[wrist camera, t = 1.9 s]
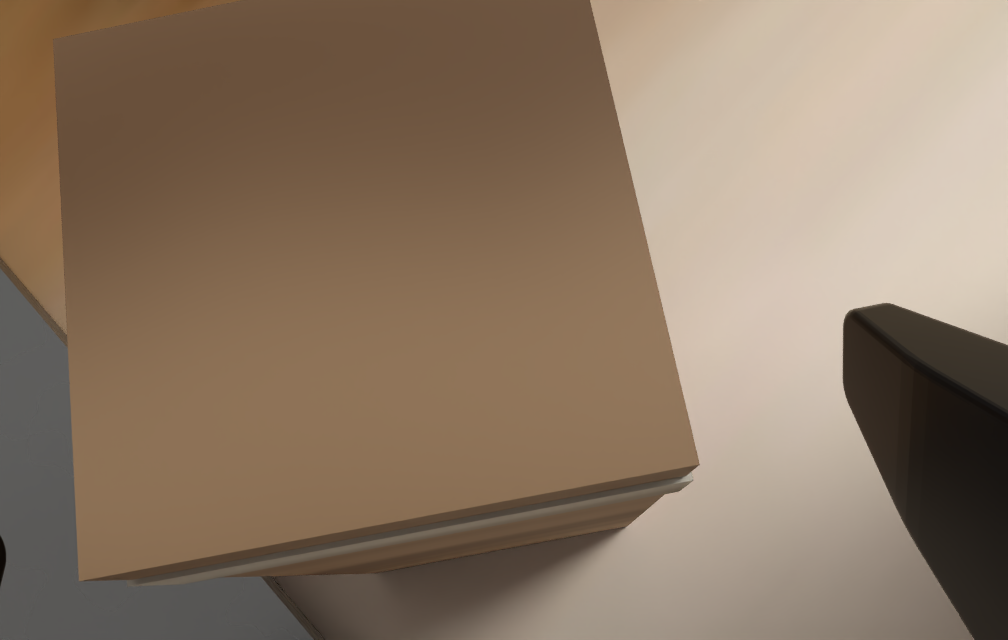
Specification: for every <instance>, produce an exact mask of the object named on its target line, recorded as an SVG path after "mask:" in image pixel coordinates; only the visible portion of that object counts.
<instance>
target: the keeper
mask: <svg viewBox="0 0 1008 640" xmlns="http://www.w3.org/2000/svg"><path fill="white" fill-rule="evenodd" d="M0 535H1V537H2V539H3V542H4V545H5V548H6V566H5V570H4V574H3V578H2V582H1V587H0V640H324V638H323V637H322V636H321V635H320V634H319V633H318V631H317V630H316V629H315V628H314V627H313V626H312V624H311V623H310V622H309V621H308V620H307V618H306V617H305V616H304V615H303V614H302V613H301V611H300V610H299V609H298V608H297V607H296V605H295V604H294V603H293V602H292V601H291V600H290V598H289V597H288V596H287V595H286V594H285V592H284V591H283V590H282V589H281V588H280V587H279V585H278V584H277V583H276V582H275V581H274V580H273V578H272V577H271V576H257V577H220V578H214V579H209V580H204V581H198V582H193V583H188V584H178V585H154V586H130V587H127V580H108V581H79V571H78V550H77V529H76V508H75V487H74V466H73V445H72V424H71V403H70V382H69V361H68V340H67V335H66V334H65V333H64V332H63V331H62V330H61V328H60V327H59V326H58V325H57V324H56V323H55V321H54V320H53V319H52V318H51V317H50V315H49V314H48V313H47V312H46V311H45V310H44V308H43V307H42V306H41V305H40V304H39V302H38V301H37V300H36V299H35V298H34V297H33V295H32V294H31V293H30V292H29V291H28V290H27V288H26V287H25V286H24V285H23V284H22V282H21V281H20V280H19V279H18V278H17V277H16V275H15V274H14V273H13V272H12V271H11V269H10V268H9V267H8V266H7V265H6V264H5V262H4V261H3V260H2V259H1V258H0Z"/></svg>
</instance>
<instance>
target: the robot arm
mask: <svg viewBox="0 0 1008 640" xmlns="http://www.w3.org/2000/svg"><path fill="white" fill-rule="evenodd" d="M843 386H844V391H845V395H846V398H847V401H848V404H849V406H850V408H851V410H852V413H853V415H854V417H855V419H856V421H857V424H858V426H859V428H860V430H861V432H862V434H863V437H864V439H865V441H866V443H867V445H868V448H869V450H870V452H871V454H872V456H873V458H874V461H875V463H876V465H877V467H878V469H879V472H880V474H881V476H882V478H883V480H884V482H885V485H886V487H887V489H888V491H889V493H890V495H891V498H892V500H893V502H894V504H895V506H896V508H897V510H898V512H899V515H900V517H901V519H902V521H903V523H904V525H905V527H906V528H907V530H908V532H909V534H910V535H911V537H912V539H913V540H914V542H915V544H916V546H917V547H918V549H919V551H920V552H921V554H922V556H923V557H924V559H925V560H926V562H927V564H928V565H929V567H930V569H931V570H932V572H933V573H934V575H935V577H936V578H937V580H938V582H939V583H940V585H941V586H942V588H943V590H944V591H945V593H946V595H947V596H948V598H949V599H950V601H951V603H952V604H953V606H954V608H955V609H956V611H957V612H958V614H959V616H960V617H961V619H962V621H963V622H964V624H965V625H966V627H967V629H968V630H969V632H970V634H971V635H972V637H973V638H974V640H1008V345H1006V344H1003V343H1000V342H997V341H995V340H992V339H989V338H986V337H983V336H981V335H978V334H975V333H972V332H969V331H967V330H964V329H961V328H958V327H955V326H952V325H950V324H947V323H944V322H941V321H938V320H936V319H933V318H930V317H927V316H924V315H922V314H919V313H916V312H913V311H910V310H908V309H905V308H902V307H899V306H896V305H894V304H890V303H882V304H877V305H872V306H867V307H862V308H857V309H853V310H850V311H849V312H848V313H847V314H846V316H845V319H844V323H843ZM5 566H6V548H5V545H4V542H3V539H2V537H1V535H0V587H1V582H2V578H3V574H4V570H5Z"/></svg>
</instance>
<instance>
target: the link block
mask: <svg viewBox="0 0 1008 640" xmlns="http://www.w3.org/2000/svg"><path fill="white" fill-rule="evenodd" d="M53 47H54V68H55V89H56V110H57V131H58V152H59V173H60V194H61V215H62V236H63V257H64V278H65V298H66V319H67V340H68V361H69V382H70V403H71V424H72V445H73V466H74V487H75V508H76V529H77V550H78V571H79V581H108V580H127V587H130V586H154V585H178V584H188V583H193V582H198V581H204V580H209V579H214V578H220V577H257V576H294V575H331V574H368V573H380V572H385V571H390V570H396V569H401V568H406V567H412V566H417V565H422V564H428V563H433V562H439V561H444V560H449V559H455V558H460V557H465V556H471V555H476V554H481V553H487V552H492V551H497V550H503V549H508V548H513V547H519V546H524V545H530V544H535V543H540V542H546V541H551V540H556V539H562V538H567V537H572V536H578V535H583V534H588V533H594V532H599V531H605V530H610V529H615V528H621V527H626V526H628V525H629V524H630V523H631V522H633V521H634V520H635V519H636V518H637V517H638V516H640V515H641V514H642V513H643V512H644V511H646V510H647V509H648V508H649V507H650V506H651V505H653V504H654V503H655V502H656V501H657V500H658V499H660V498H661V497H662V496H663V495H664V494H668V493H673V492H678V491H680V490H681V489H683V488H684V487H685V486H687V485H688V484H689V483H691V482H692V481H693V477H692V472H691V471H693V470H694V469H695V468H696V467H697V466H698V465H700V464H699V460H698V456H697V451H696V447H695V443H694V439H693V435H692V430H691V426H690V422H689V418H688V413H687V409H686V405H685V401H684V397H683V392H682V388H681V384H680V380H679V375H678V371H677V367H676V363H675V358H674V354H673V350H672V346H671V342H670V337H669V333H668V329H667V325H666V320H665V316H664V312H663V308H662V304H661V299H660V295H659V291H658V287H657V282H656V278H655V274H654V270H653V265H652V261H651V257H650V253H649V249H648V244H647V240H646V236H645V232H644V227H643V223H642V219H641V215H640V211H639V206H638V202H637V198H636V194H635V189H634V185H633V181H632V177H631V173H630V168H629V164H628V160H627V156H626V151H625V147H624V143H623V139H622V134H621V130H620V126H619V122H618V118H617V113H616V109H615V105H614V101H613V96H612V92H611V88H610V84H609V80H608V75H607V71H606V67H605V63H604V58H603V54H602V50H601V46H600V41H599V37H598V33H597V29H596V25H595V20H594V16H593V12H592V8H591V3H590V0H241V1H237V2H232V3H227V4H222V5H217V6H212V7H207V8H203V9H198V10H193V11H188V12H183V13H178V14H173V15H169V16H164V17H159V18H154V19H149V20H144V21H139V22H135V23H130V24H125V25H120V26H115V27H110V28H105V29H100V30H96V31H91V32H86V33H81V34H76V35H71V36H66V37H62V38H57V39H53Z"/></svg>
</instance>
